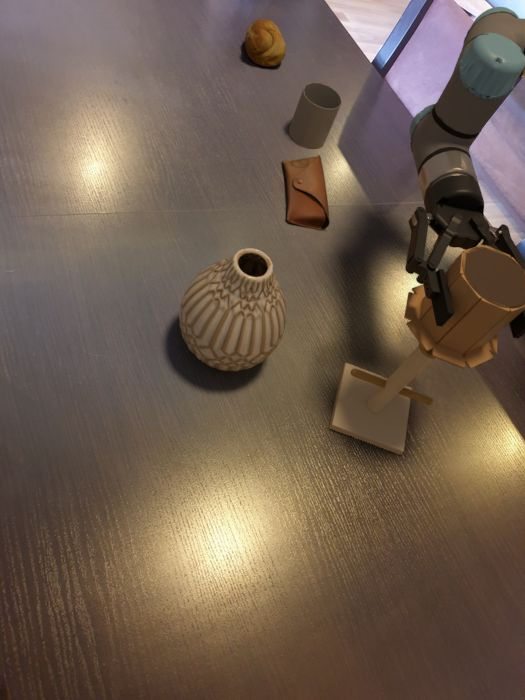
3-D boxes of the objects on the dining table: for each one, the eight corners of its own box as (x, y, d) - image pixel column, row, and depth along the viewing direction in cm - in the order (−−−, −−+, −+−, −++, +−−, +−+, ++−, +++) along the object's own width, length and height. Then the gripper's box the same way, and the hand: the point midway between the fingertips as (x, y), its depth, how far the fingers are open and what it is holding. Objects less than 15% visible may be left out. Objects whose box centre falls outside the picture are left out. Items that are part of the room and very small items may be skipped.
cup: (307, 119, 127) (322, 78, 119) (332, 142, 125) (349, 102, 117) (281, 129, 123) (295, 88, 115) (306, 153, 121) (322, 113, 113)
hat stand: (411, 393, 95) (479, 329, 79) (403, 456, 88) (476, 401, 72) (338, 365, 94) (391, 294, 78) (324, 426, 87) (379, 363, 71)
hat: (497, 305, 78) (545, 258, 70) (494, 381, 71) (548, 339, 63) (411, 270, 77) (450, 219, 69) (399, 344, 70) (441, 296, 62)
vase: (203, 401, 84) (232, 329, 68) (155, 319, 90) (171, 233, 73) (288, 364, 92) (333, 291, 75) (240, 290, 97) (271, 207, 81)
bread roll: (241, 34, 138) (248, 1, 131) (279, 43, 140) (288, 10, 134) (243, 66, 131) (251, 32, 125) (283, 74, 134) (293, 42, 127)
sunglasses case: (279, 158, 117) (304, 139, 113) (301, 176, 121) (326, 158, 117) (286, 223, 108) (313, 204, 104) (309, 240, 112) (336, 222, 108)
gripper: (504, 226, 84) (544, 354, 73) (365, 197, 79) (384, 330, 68) (537, 189, 78) (587, 322, 66) (389, 155, 73) (414, 293, 61)
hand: (484, 326), depth 67 cm, fingers closed on hat, 10 cm apart
